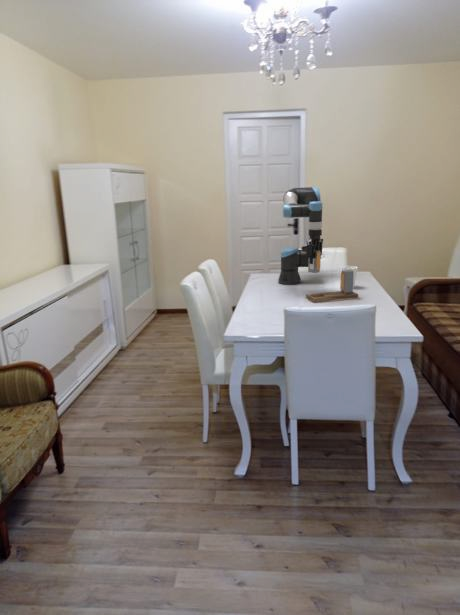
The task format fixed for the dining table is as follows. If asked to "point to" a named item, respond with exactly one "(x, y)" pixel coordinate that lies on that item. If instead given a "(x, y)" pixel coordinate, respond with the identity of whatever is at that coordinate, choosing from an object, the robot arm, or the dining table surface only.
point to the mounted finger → (347, 282)
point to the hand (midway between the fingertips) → (314, 268)
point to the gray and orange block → (315, 262)
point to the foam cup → (352, 268)
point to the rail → (330, 296)
